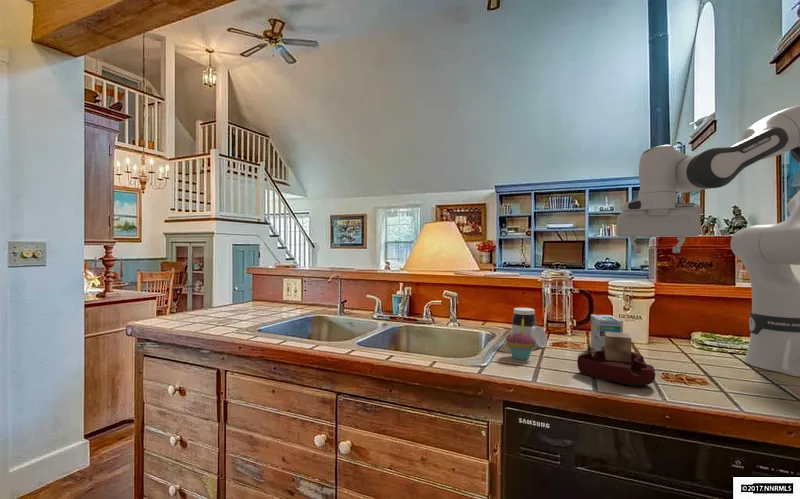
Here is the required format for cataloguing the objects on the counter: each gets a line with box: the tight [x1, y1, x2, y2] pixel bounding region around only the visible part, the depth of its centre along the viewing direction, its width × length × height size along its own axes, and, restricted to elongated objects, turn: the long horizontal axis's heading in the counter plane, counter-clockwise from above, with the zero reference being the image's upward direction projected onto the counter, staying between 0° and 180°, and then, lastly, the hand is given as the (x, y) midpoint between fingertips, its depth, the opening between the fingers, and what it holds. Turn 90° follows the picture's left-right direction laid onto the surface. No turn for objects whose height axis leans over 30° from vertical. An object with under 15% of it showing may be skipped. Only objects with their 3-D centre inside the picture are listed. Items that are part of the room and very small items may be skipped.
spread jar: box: [511, 307, 548, 349], centre depth 133 cm, size 12×11×12 cm
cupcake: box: [505, 316, 537, 360], centre depth 118 cm, size 9×8×12 cm
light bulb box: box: [590, 314, 624, 352], centre depth 125 cm, size 11×7×11 cm, turn 169°
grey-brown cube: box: [605, 332, 632, 362], centre depth 101 cm, size 6×6×6 cm
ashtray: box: [576, 350, 656, 389], centre depth 102 cm, size 18×16×5 cm
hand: (656, 252), depth 112 cm, fingers open, 8 cm apart
